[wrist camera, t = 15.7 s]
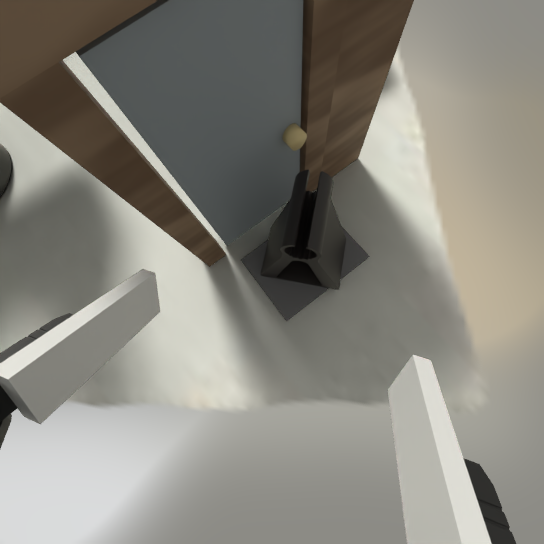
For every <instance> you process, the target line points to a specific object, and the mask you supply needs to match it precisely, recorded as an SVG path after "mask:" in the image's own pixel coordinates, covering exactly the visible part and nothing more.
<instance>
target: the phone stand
mask: <svg viewBox="0 0 544 544" xmlns="http://www.w3.org/2000/svg"><path fill="white" fill-rule="evenodd" d="M309 174H310V171H309V170H304V171H301V172H300V173H298V174H297V175H296V177H295V181H294V186H293V191H292V196H291V199H290V201H289V202H288V204H287V205H286V207H285V208H284V209H283V211H282V212H281V214H280V215H279V217H278V218H277V220H276V221H275V223H274V224H273V225H272V227H271V230H270V234H269V239H268V243H267V248H266V252H265V257H264V261H263V266H262V270H261V276H265V277H271V278H276V279H282V280H287V281H293V282H300V283H304V284H309V285H314V286H320V287H325V288H331V289H339V285H340V279H341V272H342V265H343V258H344V251H345V244H346V237H345V235H344V232H343V230H342V227H341V225H340V222H339V219H338V217H337V214H336V212H335V209H334V207H333V204H332V201H331V194H332V188H333V180H332V178H331V177H330V176H329V175H328V174H327V173H325V172H323V171H321V172H320V176H319V181H318V187H317V192H316V191H315V192H314V193H312V192H311V191H306V189H307V184H308V179H309Z"/></svg>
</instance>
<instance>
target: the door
mask: <svg viewBox="0 0 544 544" xmlns="http://www.w3.org/2000/svg"><path fill="white" fill-rule="evenodd" d="M302 38H303V0H158V1H156V2H155V3H153V4H151V5H150V6H148V7H147V8H145V9H143V10H142V11H140V12H139V13H137V14H135V15H134V16H132V17H131V18H129V19H127V20H126V21H124V22H122V23H121V24H119V25H118V26H116V27H114V28H113V29H111V30H110V31H108V32H106V33H105V34H103V35H101V36H100V37H98V38H97V39H95V40H93V41H92V42H90V43H89V44H87V45H85V46H84V47H82V48H81V49H79V50H77V51H76V53H77V54H78V56H79V57H80V58H81V59H82V61H83V62H84V63H85V65H86V66H87V67H88V68H89V70H90V71H91V72H92V74H93V75H94V76H95V77H96V79H97V80H98V81H99V83H100V84H101V85H102V86H103V88H104V89H105V90H106V91H107V93H108V94H109V95H110V97H111V98H112V99H113V100H114V102H115V103H116V104H117V106H118V107H119V108H120V109H121V111H122V112H123V113H124V115H125V116H126V117H127V118H128V120H129V121H130V122H131V124H132V125H133V126H134V127H135V129H136V130H137V131H138V132H139V134H140V135H141V136H142V138H143V139H144V140H145V141H146V143H147V144H148V145H149V147H150V148H151V149H152V150H153V152H154V153H155V154H156V156H157V157H158V158H159V159H160V161H161V162H162V163H163V165H164V166H165V167H166V168H167V170H168V171H169V172H170V174H171V175H172V176H173V177H174V179H175V180H176V181H177V182H178V184H179V185H180V186H181V188H182V189H183V190H184V191H185V193H186V194H187V195H188V197H189V198H190V199H191V200H192V202H193V203H194V204H195V206H196V207H197V208H198V209H199V211H200V212H201V213H202V215H203V216H204V217H205V218H206V220H207V221H208V222H209V224H210V225H211V226H212V227H213V229H214V230H215V231H216V232H217V234H218V235H219V236H220V238H221V239H222V240H223V241H224V243H225V244H226V245H227V246H228V245H229V244H230V243H232V242H233V241H234V240H236V239H237V238H239V237H240V236H241V235H243V234H244V233H245V232H247V231H248V230H250V229H251V228H252V227H254V226H255V225H256V224H258V223H259V222H261V221H262V220H263V219H265V218H266V217H267V216H269V215H270V214H271V213H273V212H274V211H276V210H277V209H278V208H280V207H281V206H282V205H284V204H285V203H287V202H288V201H289V200H290V199H291V196H292V191H293V186H294V181H295V177H296V175H297V174H298V173H299V172H300V148H301V147H302V146H303V144H304V143H305V141H306V138H307V134H306V133H305V132H304V131H303V130H302V129H301V128H300V127H301V83H302Z"/></svg>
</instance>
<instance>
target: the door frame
mask: <svg viewBox="0 0 544 544" xmlns="http://www.w3.org/2000/svg"><path fill="white" fill-rule="evenodd" d="M156 1H158V0H0V103H2V104H3V105H4V106H5V107H7V108H8V109H9V110H11V111H12V112H13V113H14V114H16V115H17V116H18V117H19V118H21V119H22V120H23V121H25V122H26V123H27V124H28V125H30V126H31V127H32V128H33V129H35V130H36V131H37V132H39V133H40V134H41V135H42V136H44V137H45V138H46V139H48V140H49V141H50V142H51V143H53V144H54V145H55V146H56V147H58V148H59V149H60V150H62V151H63V152H64V153H65V154H67V155H68V156H69V157H70V158H72V159H73V160H74V161H76V162H77V163H78V164H79V165H81V166H82V167H83V168H84V169H86V170H87V171H88V172H90V173H91V174H92V175H93V176H95V177H96V178H97V179H99V180H100V181H101V182H102V183H104V184H105V185H106V186H107V187H109V188H110V189H111V190H113V191H114V192H115V193H116V194H118V195H119V196H120V197H121V198H123V199H124V200H125V201H127V202H128V203H129V204H130V205H132V206H133V207H134V208H136V209H137V210H138V211H139V212H141V213H142V214H143V215H144V216H146V217H147V218H148V219H150V220H151V221H152V222H153V223H155V224H156V225H157V226H158V227H160V228H161V229H162V230H164V231H165V232H166V233H167V234H169V235H170V236H171V237H173V238H174V239H175V240H176V241H178V242H179V243H180V244H181V245H183V246H184V247H185V248H187V249H188V250H189V251H190V252H192V253H193V254H194V255H195V256H197V257H198V258H199V259H201V260H202V261H203V262H204V263H206V264H207V265H208V266H209V267H210V266H211V265H213V264H214V263H216V262H217V261H218V260H220V259H221V258H222V257H224V256H225V255H226V253H225V252H224V251H223V249H222V248H221V247H220V245H219V244H218V243H217V241H216V240H215V239H214V238H213V236H212V235H211V234H210V233H209V232H208V231H207V229H206V228H205V227H204V226H203V225H202V223H201V222H200V221H199V220H198V219H197V218H196V216H195V215H194V214H193V213H192V212H191V211H190V209H189V208H188V207H187V206H186V205H185V204H184V202H183V201H182V200H181V199H180V198H179V196H178V195H177V194H176V193H175V192H174V191H173V189H172V188H171V187H170V186H169V185H168V184H167V182H166V181H165V180H164V179H163V178H162V177H161V175H160V174H159V173H158V172H157V171H156V169H155V168H154V167H153V166H152V165H151V164H150V162H149V161H148V160H147V159H146V158H145V157H144V155H143V154H142V153H141V152H140V151H139V150H138V148H137V147H136V146H135V145H134V144H133V142H132V141H131V140H130V139H129V138H128V137H127V135H126V134H125V133H124V132H123V131H122V130H121V128H120V127H119V126H118V125H117V124H116V123H115V121H114V120H113V119H112V118H111V117H110V115H109V114H108V113H107V112H106V111H105V110H104V108H103V107H102V106H101V105H100V104H99V103H98V101H97V100H96V99H95V98H94V97H93V96H92V94H91V93H90V92H89V91H88V90H87V89H86V87H85V86H84V85H83V84H82V83H81V81H80V80H79V79H78V78H77V77H76V76H75V74H74V73H73V72H72V71H71V70H70V69H69V67H68V66H67V65H66V64H65V63H64V62H63V59H64V58H66V57H68V56H69V55H71V54H72V53H74V52H76V51H77V50H79V49H81V48H82V47H84V46H85V45H87V44H89V43H90V42H92V41H93V40H95V39H97V38H98V37H100V36H101V35H103V34H105V33H106V32H108V31H110V30H111V29H113V28H114V27H116V26H118V25H119V24H121V23H122V22H124V21H126V20H127V19H129V18H131V17H132V16H134V15H135V14H137V13H139V12H140V11H142V10H143V9H145V8H147V7H148V6H150V5H151V4H153V3H155V2H156ZM413 1H414V0H303V38H302V83H301V127H300V128H301V129H302V130H303V131H304V132H305V133H306V134H307V138H306V141H305V143H304V144H303V146H302V147H301V148H300V172H301V171H304V170H309V171H310V174H309V179H308V184H307V189H306V191H311V192H312V191H314V190H315V189H317V187H318V181H319V176H320V172H321V171H323V172H325V173H327V174H328V175H329V176H330V177H331V178H332V177H333V176H334V175H336V174H337V173H338V172H340V171H341V170H343V169H344V168H345V167H347V166H348V165H349V164H351V163H352V162H353V161H355V160H356V159H358V157H359V154H360V151H361V148H362V146H363V143H364V140H365V137H366V134H367V131H368V129H369V126H370V123H371V120H372V117H373V114H374V112H375V109H376V106H377V103H378V100H379V97H380V95H381V92H382V89H383V86H384V83H385V80H386V78H387V75H388V72H389V69H390V66H391V63H392V61H393V58H394V55H395V52H396V49H397V46H398V44H399V41H400V38H401V35H402V32H403V29H404V26H405V24H406V21H407V18H408V15H409V12H410V9H411V7H412V4H413ZM300 172H299V173H300Z"/></svg>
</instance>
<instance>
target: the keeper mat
mask: <svg viewBox="0 0 544 544" xmlns="http://www.w3.org/2000/svg"><path fill="white" fill-rule="evenodd" d="M341 227H342V226H341ZM342 230H343V232H344V235H345V237H346V244H345V251H344V258H343V265H342V272H341V278H343V277H344V276H345V275H347V274H348V273H349V272H350V271H352V270H353V269H354V268H356V267H357V266H358V265H359V264H361V263H362V262H363V261H365V260H366V259H367V258H368V257H370V256H369V255H368V254H367V253H366V252H365V251H364V250H363V249H362V248H361V247H360V246H359V245H358V244H357V242H356V241H355V240H354V239H353V238H352V237H351V236H350V235H349V234H348V233H347V232H346V231H345V230H344V229H343V228H342ZM267 243H268V240H267V241H266V242H264V243H263V244H262V245H260V246H259V247H258V248H256V249H255V250H254V251H252V252H251V253H249V254H248V255H247V256H245V257H244V258H243V259H241V261H242V262H243V264H244V265H245V266H246V268H247V269H248V270H249V272H250V273H251V274H252V276H253V277H254V278H255V280H256V281H257V282H258V284H259V285H260V286H261V288H262V289H263V290H264V292H265V293H266V294H267V296H268V297H269V298H270V300H271V301H272V302H273V304H274V305H275V306H276V308H277V309H278V310H279V312H280V313H281V314H282V316H283V317H284V318H285V319H286V321H287V320H289V319H290V318H291V317H292V316H294V315H295V314H296V313H298V312H299V311H300V310H301V309H303V308H304V307H305V306H307V305H308V304H309V303H310V302H312V301H313V300H314V299H316V298H317V297H318V296H319V295H321V294H322V293H323V292H325V291H326V290H327V289H328V288H325V287H320V286H314V285H309V284H304V283H300V282H293V281H287V280H282V279H276V278H271V277H265V276H261V270H262V266H263V261H264V257H265V252H266V248H267Z"/></svg>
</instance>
